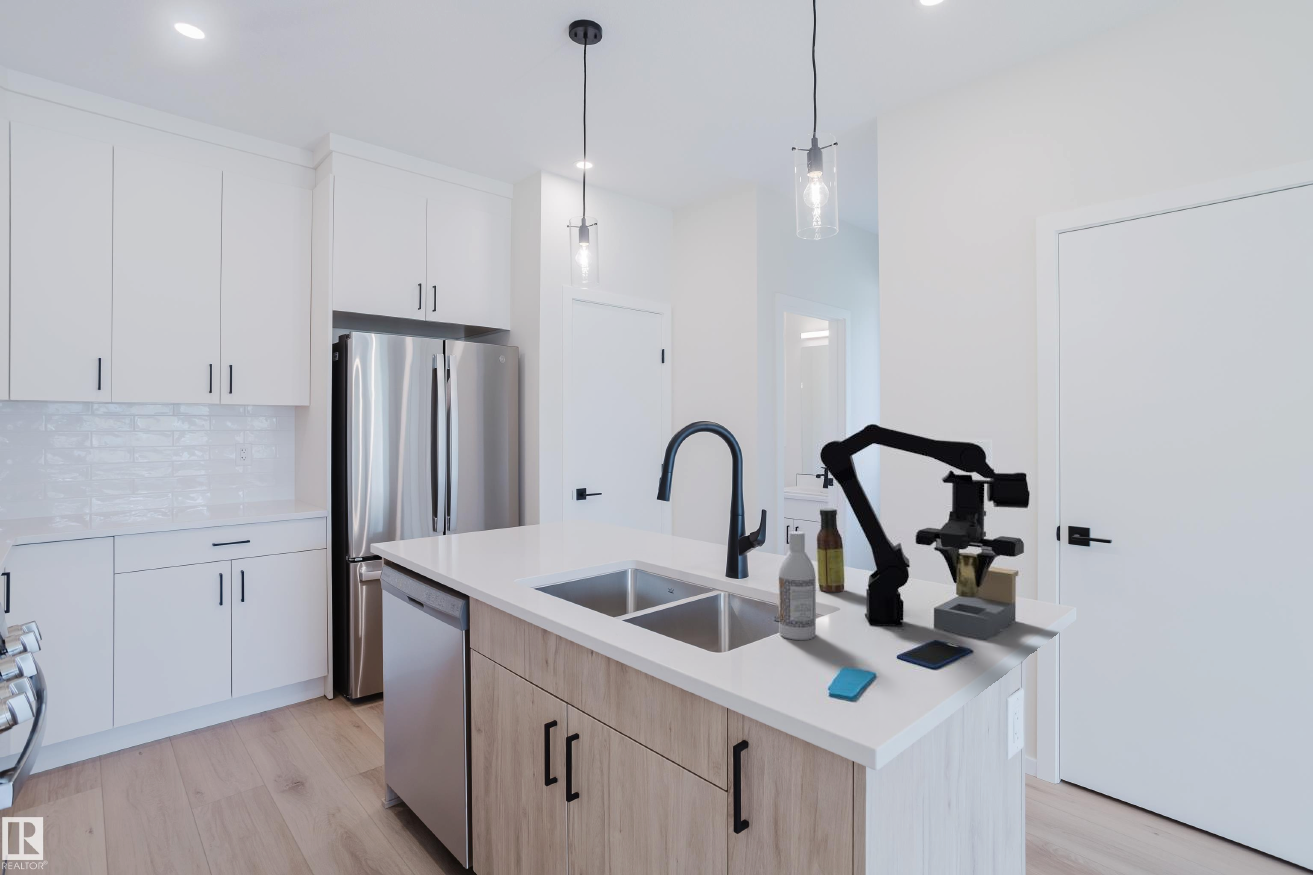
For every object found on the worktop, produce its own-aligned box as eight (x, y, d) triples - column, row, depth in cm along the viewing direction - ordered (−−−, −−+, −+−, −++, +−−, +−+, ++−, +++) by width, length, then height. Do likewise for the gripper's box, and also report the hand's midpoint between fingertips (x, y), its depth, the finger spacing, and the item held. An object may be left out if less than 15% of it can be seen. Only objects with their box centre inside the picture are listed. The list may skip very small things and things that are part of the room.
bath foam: (783, 627, 131) (783, 528, 130) (818, 631, 128) (818, 530, 127) (775, 638, 124) (774, 534, 124) (811, 643, 122) (811, 536, 121)
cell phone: (974, 653, 117) (975, 649, 117) (934, 672, 108) (934, 668, 108) (935, 642, 122) (935, 638, 122) (894, 660, 114) (894, 655, 114)
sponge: (815, 690, 100) (852, 694, 96) (841, 665, 109) (876, 668, 106) (816, 700, 99) (854, 704, 96) (842, 675, 109) (877, 678, 106)
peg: (959, 597, 127) (959, 556, 127) (953, 591, 131) (953, 552, 131) (981, 597, 126) (981, 557, 126) (974, 592, 130) (975, 552, 130)
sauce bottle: (847, 589, 160) (847, 508, 159) (839, 594, 155) (839, 511, 154) (822, 585, 164) (821, 506, 163) (813, 590, 158) (812, 509, 158)
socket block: (989, 640, 122) (990, 584, 122) (931, 627, 130) (931, 575, 130) (1018, 621, 133) (1018, 570, 133) (962, 610, 141) (962, 562, 141)
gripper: (903, 505, 129) (903, 583, 130) (1005, 515, 116) (1004, 602, 116) (927, 500, 137) (927, 574, 138) (1025, 509, 124) (1024, 590, 124)
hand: (967, 584), depth 129 cm, fingers closed on peg, 4 cm apart
